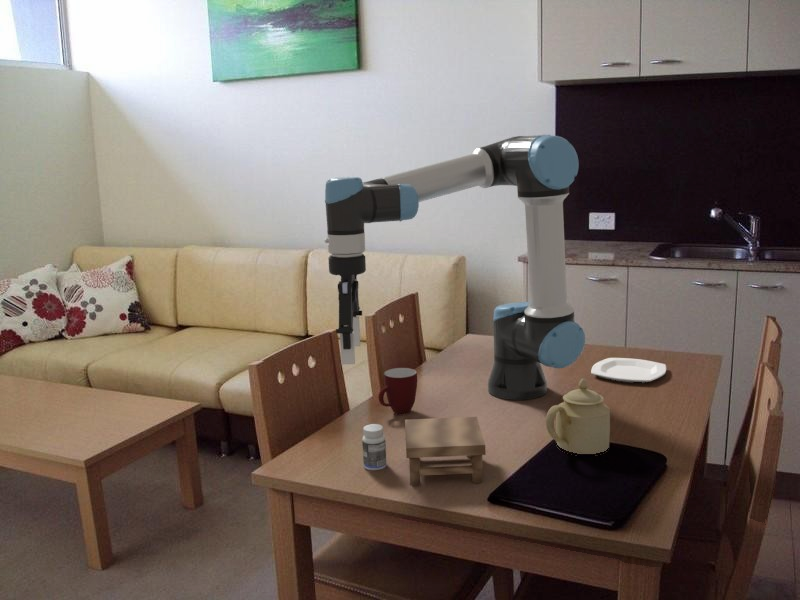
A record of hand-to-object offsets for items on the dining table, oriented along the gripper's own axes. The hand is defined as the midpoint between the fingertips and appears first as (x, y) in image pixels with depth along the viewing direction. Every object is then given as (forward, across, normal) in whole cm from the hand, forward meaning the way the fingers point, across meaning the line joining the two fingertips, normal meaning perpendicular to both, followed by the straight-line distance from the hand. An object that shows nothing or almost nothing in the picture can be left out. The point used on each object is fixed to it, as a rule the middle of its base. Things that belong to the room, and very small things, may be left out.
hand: (351, 354), depth 160 cm
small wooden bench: (+21, +10, +19) cm, 30 cm away
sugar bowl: (+21, +2, +48) cm, 52 cm away
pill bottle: (+22, +8, +5) cm, 24 cm away
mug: (+22, -22, +9) cm, 32 cm away
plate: (+21, -48, +71) cm, 88 cm away
